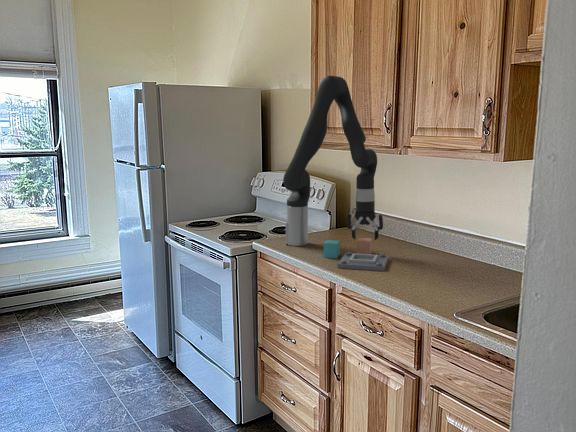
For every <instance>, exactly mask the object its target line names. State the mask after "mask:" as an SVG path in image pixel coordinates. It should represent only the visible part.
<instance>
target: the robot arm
mask: <svg viewBox="0 0 576 432" xmlns="http://www.w3.org/2000/svg"><path fill="white" fill-rule="evenodd" d="M333 102H335V103H336V105H337V107H338V109H339V112H340V116H341V117H340V118H341V125H342V126H341V127H342V130H343V133H344V135H345V138H346V140H347V143H348V144H349V151H350V156H351V160H352V162H353V163H354V165H355V166H356V167H357V168H360V171H359V173H358V174H357V175H356V181H355V182H356V183H355V184H356V190H355V197H354V198H355V213H351V212H349V213H348V214H347V224H346V225H347V226H346V228H347V229H349V230H351V238H352V239H353V240H357V239H356V238H357V229H356V228H357V227H358V225H359V224H360V225H361V226H364V225H367V226H369V225H371V227H372V228H373V229H374V241H375V240H376V241H377V240H378V238H379V231H380V230H383V229H384V217H383V216H384V215H383V214H382V213H379V214H376V212H375V211H376V209H375V207H376V206H375V205H376V204H375V201H376V200H375V198H376V197H375V196H376V195H375V175H376V171H377V166H378V155H377V153H376V151H374V150H373V149H369V148H367V149H366V147H365V142H366V140H367V138H366V134H365V132H364V130H363V128H362V126H361V124H360V121H359V119H358V117H357V114H356V110H355V107H354V104H353V100H352V96H351V92H350V88H349V86H348V82H347V81H346V79H345V78H343V77H342V76H336V75H325V77H323V78H322V79H321V81H320V83H319V85H318V87H317V91H316V95H315V98H314V101H313V106H312V108H311V111H310V113H309V115H308V119H307V121H306V124H305V127H304V129H303V130H302V132H301V133H302V134H301V137H300V139H299V141H298V145H297V147H296V149H295V152H294V154H293V156H292V159H291V161H290V163H289V165H288V167H287V169H286V171H285V172H284V175H283V178H282V181H283V182H282V184H283V186H284V188H285V189H286V190H287V191H290V192H291V193H290V195H289V196H288V198H287V200H286V223H285V245H287V244H288V246H294V247H300V246H301V247H302V246H303V247H304V246H306V245H308V244H309V237H308V236H309V227H308V226H309V200H310V196H311V177H310V174H309V171H307V170H306V168H307V166H308V165H309V162H310V161H311V160H312V158H313V157H315V155H316V154H317V153H318V152H319V150H320V148H321V147H322V145H323V142H324V141H325V137H326V135H327V132H328V114H329V110H330V108H331V106H332V104H333ZM353 219H355V220H356V221H355V223H354V225H352V220H353ZM375 219H377V220H378V222H379V223H378V225H377V224H376V222H375V221H374V220H375Z"/></svg>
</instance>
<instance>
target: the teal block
mask: <svg viewBox="0 0 576 432" xmlns="http://www.w3.org/2000/svg"><path fill="white" fill-rule="evenodd" d="M340 246H341V243H340V240H337V239H326V240H325V241H324V242H323V248H322V249H323V258H324V259H325V258H328V259H338V257H339V256H340V254H341V253H340V249H341V247H340Z"/></svg>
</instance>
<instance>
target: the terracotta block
mask: <svg viewBox="0 0 576 432" xmlns="http://www.w3.org/2000/svg"><path fill="white" fill-rule="evenodd" d="M372 243H373V238H371V237H369V238H368V237H367V238H364V237H358V238H357V239H356V243H355V244H356V245H355V247H356V248H355V253H356V254H372V247H373V246H372V245H373V244H372Z"/></svg>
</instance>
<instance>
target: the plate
mask: <svg viewBox="0 0 576 432" xmlns="http://www.w3.org/2000/svg"><path fill="white" fill-rule="evenodd" d="M388 262H389V255H386V254H385V253H380V254H372V253H371V254H356V252H355V253H353V252H352V251H346V252H345V253H344V254H343V256H342V257H341V259H340V260H339V261H338V262H337V264H336V265H337V268H338V269H347V270H348V269H350V270H361V271H363V270H364V271H378V272H385V270H386V266H387V264H388Z"/></svg>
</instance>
